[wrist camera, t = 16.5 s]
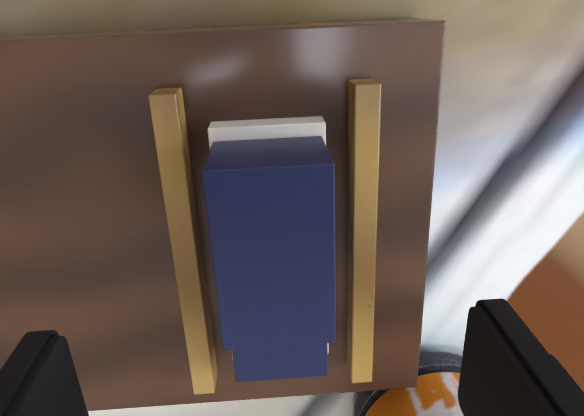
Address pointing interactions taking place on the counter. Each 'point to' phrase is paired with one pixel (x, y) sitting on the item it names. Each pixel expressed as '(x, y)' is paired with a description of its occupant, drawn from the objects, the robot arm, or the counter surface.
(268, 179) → the blue box
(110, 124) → the brown rectangular slab
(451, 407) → the canister
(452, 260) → the counter surface
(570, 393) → the robot arm
